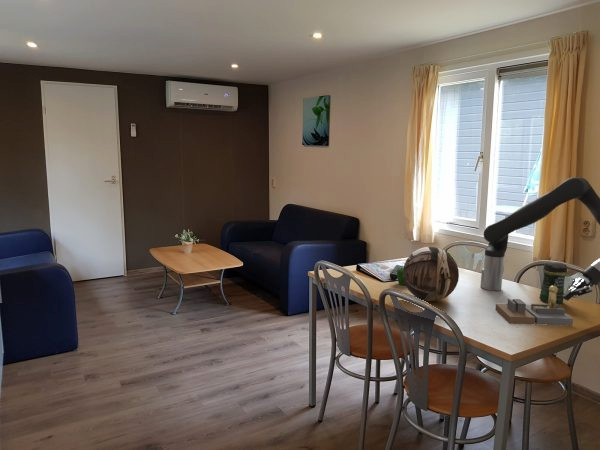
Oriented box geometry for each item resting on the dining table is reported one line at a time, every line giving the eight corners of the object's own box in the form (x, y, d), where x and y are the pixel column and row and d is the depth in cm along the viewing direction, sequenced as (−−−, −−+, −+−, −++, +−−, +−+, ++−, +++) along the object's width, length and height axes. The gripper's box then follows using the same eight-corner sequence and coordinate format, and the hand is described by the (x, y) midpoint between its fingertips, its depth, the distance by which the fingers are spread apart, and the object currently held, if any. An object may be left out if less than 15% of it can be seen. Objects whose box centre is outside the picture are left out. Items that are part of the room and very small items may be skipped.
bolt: (553, 309, 198) (556, 284, 196) (557, 312, 195) (560, 287, 193) (532, 309, 198) (534, 284, 196) (535, 311, 195) (538, 286, 193)
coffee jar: (547, 304, 214) (551, 265, 211) (536, 299, 222) (540, 261, 219) (566, 303, 216) (571, 265, 213) (555, 298, 224) (559, 260, 220)
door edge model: (553, 312, 205) (554, 296, 203) (572, 325, 189) (574, 309, 188) (495, 310, 206) (496, 294, 205) (509, 323, 190) (510, 307, 189)
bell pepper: (393, 282, 244) (394, 264, 243) (406, 281, 248) (407, 262, 246) (403, 287, 237) (404, 268, 235) (416, 285, 240) (417, 266, 239)
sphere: (460, 311, 204) (464, 255, 199) (401, 306, 209) (404, 251, 204) (453, 293, 228) (457, 243, 224) (401, 289, 233) (403, 240, 228)
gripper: (583, 261, 199) (551, 287, 201) (601, 269, 186) (566, 297, 188) (594, 273, 199) (562, 299, 202) (613, 282, 186) (578, 310, 189)
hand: (564, 298), depth 195 cm, fingers closed
